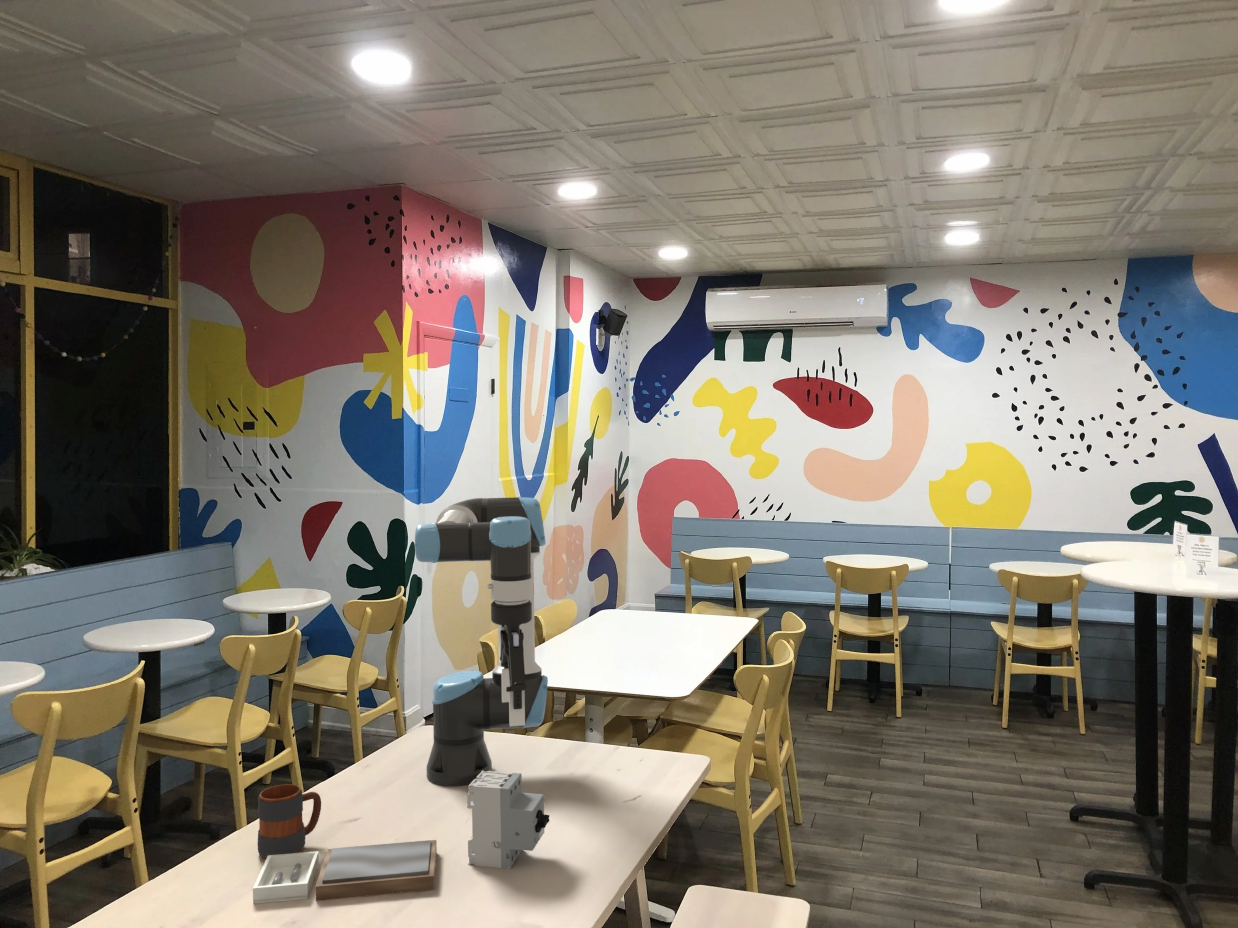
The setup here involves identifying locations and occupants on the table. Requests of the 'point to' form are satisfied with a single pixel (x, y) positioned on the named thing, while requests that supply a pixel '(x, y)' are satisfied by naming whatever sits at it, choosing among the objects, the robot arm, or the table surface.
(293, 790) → the mug
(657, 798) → the table surface
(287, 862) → the tray
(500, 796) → the circuit breaker
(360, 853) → the framed panel
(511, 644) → the robot arm
